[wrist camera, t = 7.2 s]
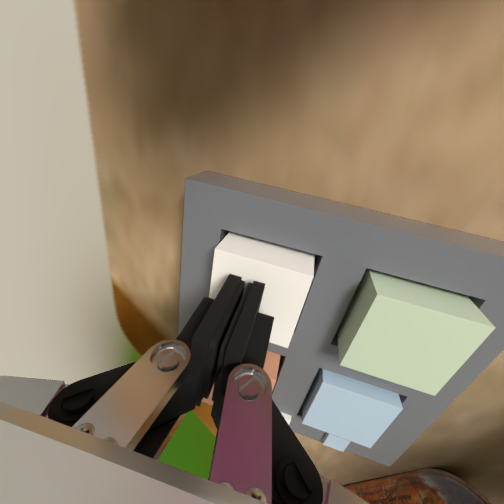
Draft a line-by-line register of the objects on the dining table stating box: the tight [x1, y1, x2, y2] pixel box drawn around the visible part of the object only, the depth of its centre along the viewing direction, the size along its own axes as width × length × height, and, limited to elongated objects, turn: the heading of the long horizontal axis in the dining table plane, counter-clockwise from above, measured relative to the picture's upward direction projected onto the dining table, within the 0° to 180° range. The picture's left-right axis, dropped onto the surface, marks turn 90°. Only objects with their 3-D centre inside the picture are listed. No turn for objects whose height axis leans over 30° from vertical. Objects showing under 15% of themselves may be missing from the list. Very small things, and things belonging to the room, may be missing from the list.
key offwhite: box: [209, 231, 315, 348], centre depth 13 cm, size 4×4×3 cm
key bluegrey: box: [302, 368, 403, 448], centre depth 16 cm, size 4×4×3 cm
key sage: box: [337, 268, 496, 396], centre depth 12 cm, size 4×4×3 cm
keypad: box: [178, 171, 504, 467], centre depth 15 cm, size 16×16×3 cm
